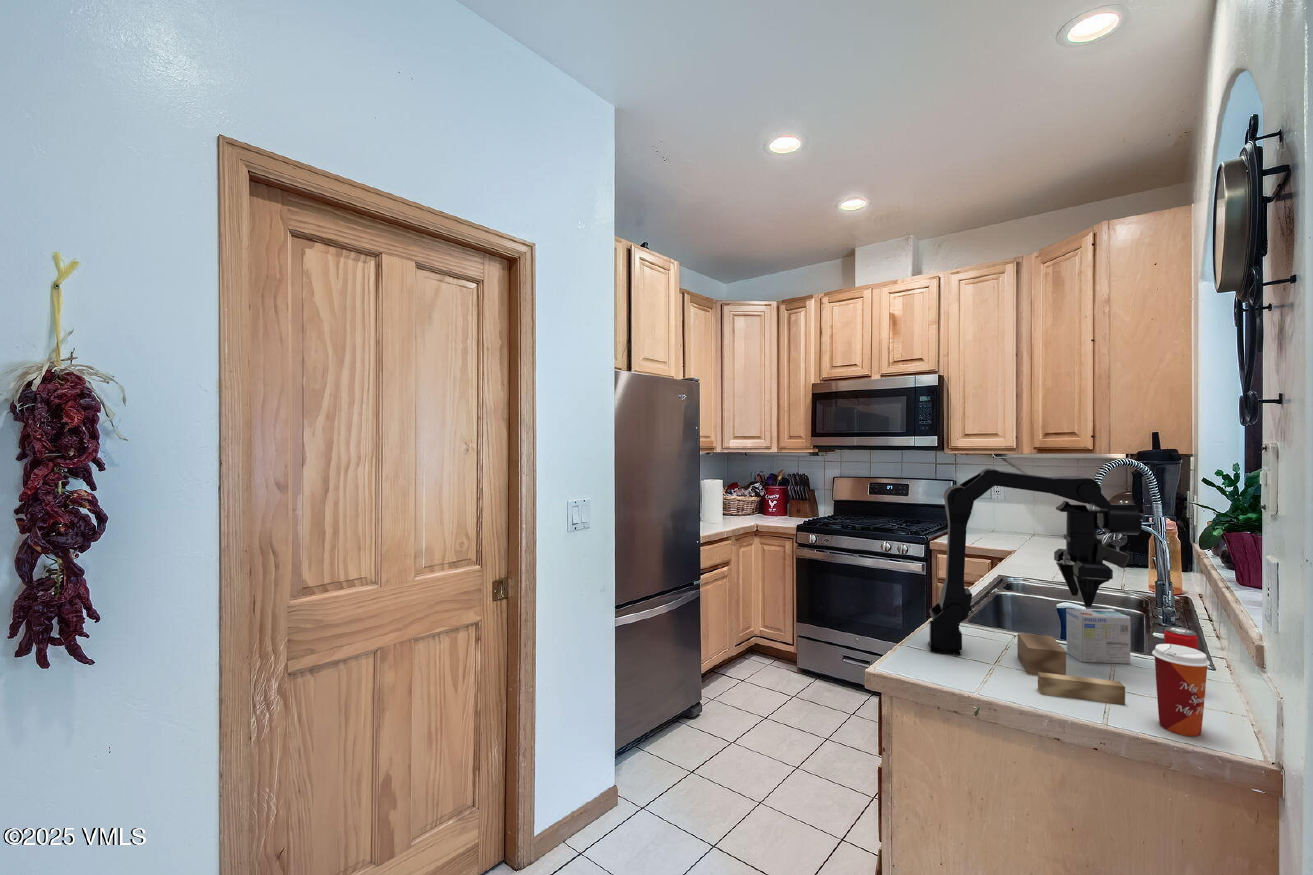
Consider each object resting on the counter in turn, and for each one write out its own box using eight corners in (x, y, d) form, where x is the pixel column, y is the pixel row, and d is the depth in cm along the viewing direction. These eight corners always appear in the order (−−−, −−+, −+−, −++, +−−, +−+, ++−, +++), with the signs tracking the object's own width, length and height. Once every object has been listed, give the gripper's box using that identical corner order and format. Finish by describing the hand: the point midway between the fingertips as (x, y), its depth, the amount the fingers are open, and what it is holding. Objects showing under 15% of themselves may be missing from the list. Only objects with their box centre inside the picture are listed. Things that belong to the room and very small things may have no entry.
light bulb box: (1112, 653, 141) (1112, 608, 141) (1132, 664, 134) (1132, 617, 134) (1064, 652, 142) (1064, 607, 142) (1081, 663, 135) (1082, 616, 135)
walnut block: (1028, 675, 129) (1028, 647, 129) (1017, 658, 138) (1017, 633, 138) (1065, 679, 127) (1066, 651, 127) (1052, 662, 136) (1052, 636, 136)
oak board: (1041, 694, 119) (1041, 676, 119) (1037, 689, 122) (1037, 672, 122) (1125, 704, 115) (1125, 686, 115) (1119, 699, 117) (1120, 681, 117)
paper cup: (1194, 743, 100) (1195, 661, 100) (1142, 723, 107) (1142, 646, 107) (1219, 734, 103) (1219, 654, 103) (1166, 714, 111) (1167, 640, 110)
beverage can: (1190, 696, 118) (1190, 636, 118) (1158, 686, 123) (1159, 628, 123) (1202, 691, 120) (1202, 632, 120) (1170, 681, 125) (1171, 625, 125)
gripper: (1143, 541, 122) (1142, 617, 123) (1108, 527, 140) (1108, 593, 140) (1079, 538, 126) (1078, 611, 126) (1053, 525, 144) (1053, 589, 144)
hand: (1081, 601), depth 134 cm, fingers open, 9 cm apart
